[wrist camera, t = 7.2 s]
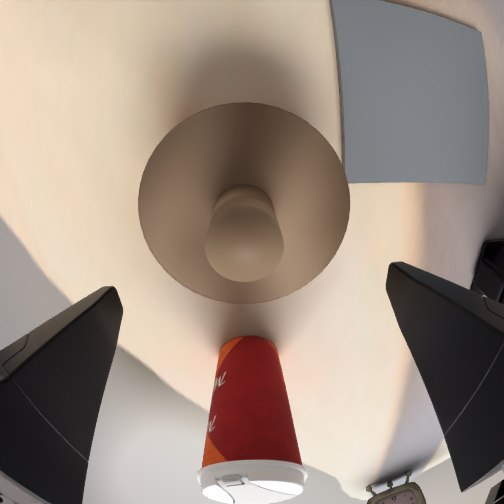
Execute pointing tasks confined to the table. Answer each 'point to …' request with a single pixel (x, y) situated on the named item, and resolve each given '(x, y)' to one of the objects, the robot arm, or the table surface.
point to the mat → (410, 95)
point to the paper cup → (250, 429)
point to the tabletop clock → (399, 494)
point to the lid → (244, 203)
